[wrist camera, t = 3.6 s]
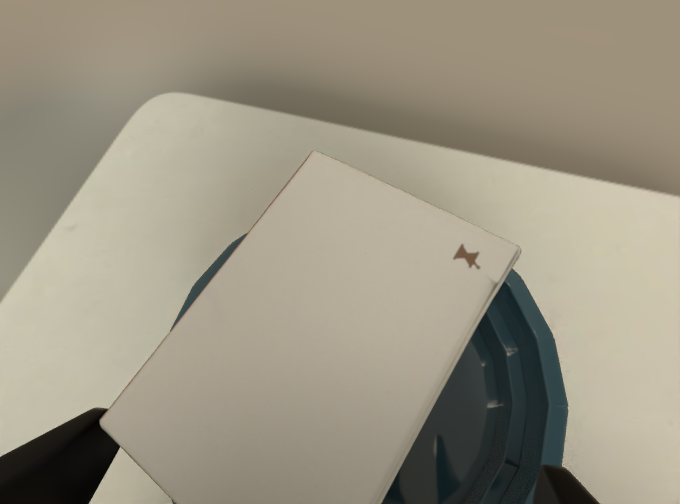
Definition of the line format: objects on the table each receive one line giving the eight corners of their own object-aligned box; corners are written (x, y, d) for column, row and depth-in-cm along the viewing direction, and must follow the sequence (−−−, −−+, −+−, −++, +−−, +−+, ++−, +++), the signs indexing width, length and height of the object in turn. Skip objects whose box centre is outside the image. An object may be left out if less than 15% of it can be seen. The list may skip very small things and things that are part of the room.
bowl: (599, 425, 16) (672, 426, 12) (312, 671, 14) (278, 778, 10) (387, 195, 21) (385, 142, 17) (164, 346, 19) (103, 326, 15)
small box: (354, 279, 19) (315, 137, 10) (456, 339, 17) (532, 238, 8) (256, 423, 17) (81, 423, 7) (361, 509, 15) (307, 654, 6)
